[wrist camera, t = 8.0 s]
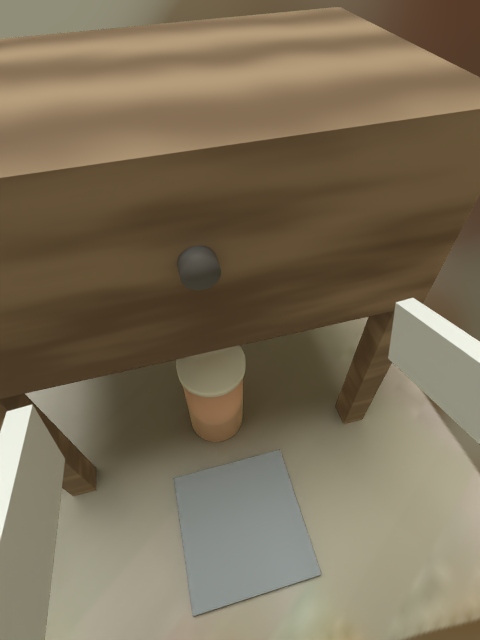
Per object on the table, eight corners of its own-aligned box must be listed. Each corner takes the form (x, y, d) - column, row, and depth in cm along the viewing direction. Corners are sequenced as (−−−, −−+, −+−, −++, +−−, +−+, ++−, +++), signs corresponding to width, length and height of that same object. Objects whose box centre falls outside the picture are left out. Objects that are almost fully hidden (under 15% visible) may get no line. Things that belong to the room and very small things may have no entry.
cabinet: (366, 427, 36) (545, 110, 14) (72, 506, 32) (-316, 239, 10) (299, 293, 48) (339, 7, 26) (77, 339, 44) (-98, 47, 22)
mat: (320, 575, 29) (321, 574, 28) (193, 616, 27) (192, 616, 27) (279, 451, 35) (280, 449, 35) (174, 480, 34) (173, 478, 33)
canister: (216, 456, 35) (209, 406, 27) (177, 418, 37) (161, 362, 30) (256, 415, 38) (259, 360, 30) (217, 382, 40) (211, 323, 32)
